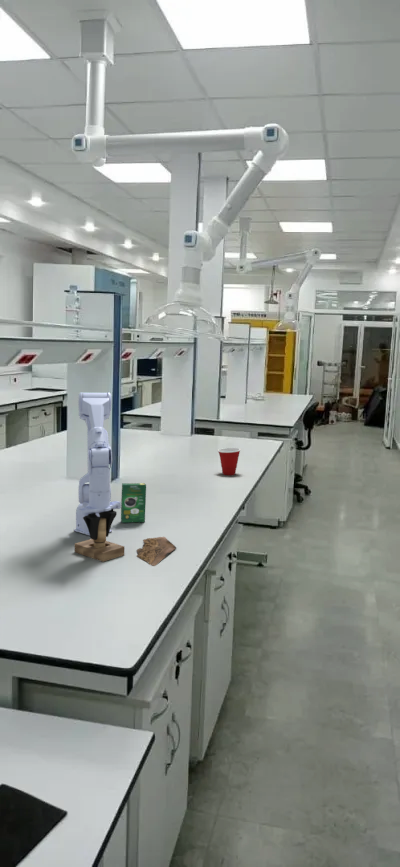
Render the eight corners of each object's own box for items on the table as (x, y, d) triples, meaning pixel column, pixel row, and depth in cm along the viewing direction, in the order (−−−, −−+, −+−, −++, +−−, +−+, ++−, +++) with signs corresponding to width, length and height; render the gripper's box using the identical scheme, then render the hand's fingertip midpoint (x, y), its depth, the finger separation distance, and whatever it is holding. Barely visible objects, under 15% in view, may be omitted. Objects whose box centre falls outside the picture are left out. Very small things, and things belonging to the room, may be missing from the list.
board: (74, 552, 185) (74, 543, 184) (96, 545, 191) (96, 537, 191) (103, 561, 177) (103, 552, 177) (124, 555, 183) (124, 546, 183)
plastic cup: (215, 471, 307) (216, 446, 305) (238, 472, 308) (239, 447, 306) (218, 476, 296) (218, 450, 294) (241, 476, 297) (242, 450, 295)
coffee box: (144, 520, 220) (144, 482, 218) (145, 522, 217) (146, 484, 216) (120, 521, 218) (120, 482, 216) (121, 523, 215) (122, 484, 214)
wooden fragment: (145, 537, 201) (145, 534, 201) (180, 539, 200) (180, 536, 200) (128, 565, 176) (128, 562, 175) (169, 568, 175) (169, 564, 174)
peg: (90, 550, 184) (90, 519, 182) (100, 547, 186) (100, 516, 185) (98, 552, 181) (98, 521, 180) (108, 550, 184) (108, 519, 183)
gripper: (89, 496, 173) (89, 546, 175) (128, 488, 185) (127, 535, 186) (72, 492, 178) (72, 540, 180) (111, 484, 189) (111, 530, 191)
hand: (99, 537), depth 183 cm, fingers closed on peg, 4 cm apart
